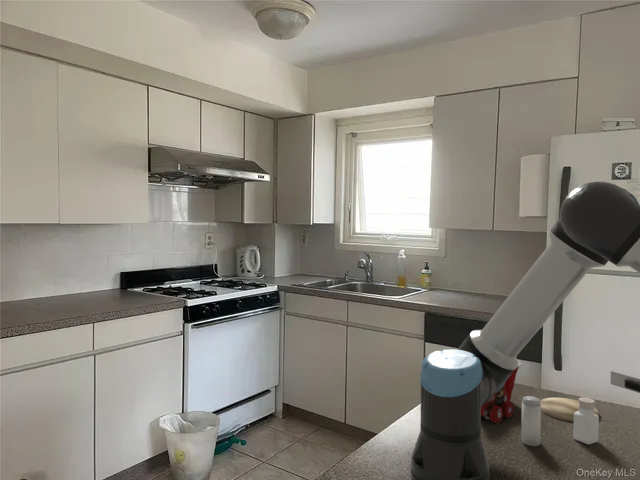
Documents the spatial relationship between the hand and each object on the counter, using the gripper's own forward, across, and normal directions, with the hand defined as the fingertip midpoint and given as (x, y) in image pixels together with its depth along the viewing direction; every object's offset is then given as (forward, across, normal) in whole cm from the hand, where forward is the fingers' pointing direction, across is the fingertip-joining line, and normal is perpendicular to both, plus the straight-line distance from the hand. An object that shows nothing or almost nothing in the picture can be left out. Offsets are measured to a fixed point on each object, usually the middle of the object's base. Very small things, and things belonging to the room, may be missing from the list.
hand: (631, 372), depth 100 cm
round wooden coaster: (+23, +12, -19) cm, 32 cm away
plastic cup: (+36, +1, -19) cm, 41 cm away
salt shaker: (+15, -12, -19) cm, 27 cm away
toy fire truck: (+29, -9, -19) cm, 36 cm away
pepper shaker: (+10, 0, -19) cm, 21 cm away
